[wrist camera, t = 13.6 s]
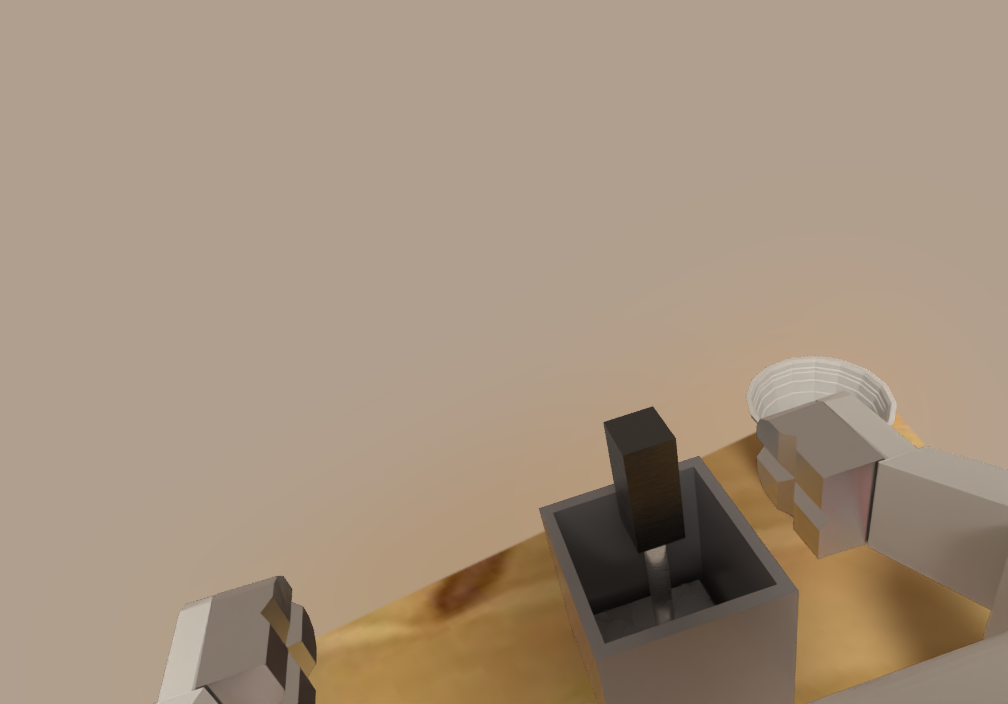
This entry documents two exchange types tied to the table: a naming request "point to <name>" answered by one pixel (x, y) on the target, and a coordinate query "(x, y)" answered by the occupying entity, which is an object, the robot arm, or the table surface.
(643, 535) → the plunger
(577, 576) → the box
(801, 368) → the plastic cup
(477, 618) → the table surface
